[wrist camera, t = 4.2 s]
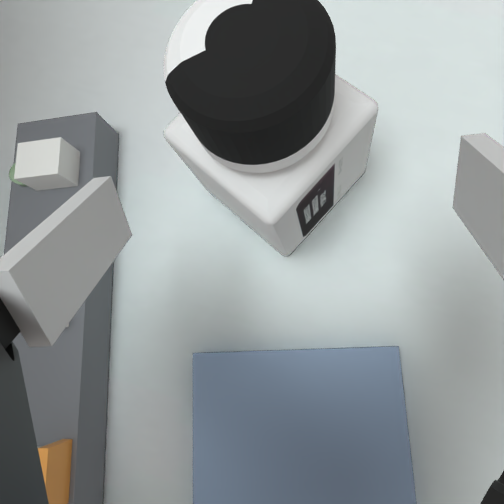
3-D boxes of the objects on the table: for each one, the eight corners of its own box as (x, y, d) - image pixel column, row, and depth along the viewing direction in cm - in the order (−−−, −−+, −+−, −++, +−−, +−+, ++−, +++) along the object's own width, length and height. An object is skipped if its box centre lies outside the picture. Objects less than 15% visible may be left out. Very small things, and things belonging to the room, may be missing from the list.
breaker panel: (47, 144, 31) (-6, 107, 26) (118, 134, 30) (78, 94, 25) (13, 523, 25) (-62, 567, 20) (101, 528, 24) (44, 575, 19)
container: (367, 170, 26) (404, 8, 13) (287, 260, 25) (245, 181, 13) (278, 106, 28) (237, -85, 15) (203, 187, 27) (99, 60, 15)
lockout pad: (197, 352, 25) (192, 353, 24) (396, 346, 23) (398, 346, 22) (197, 573, 22) (193, 581, 22) (423, 588, 20) (427, 597, 20)
